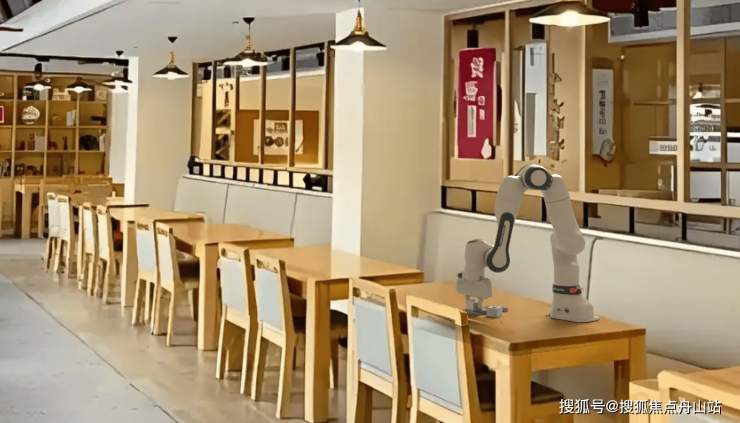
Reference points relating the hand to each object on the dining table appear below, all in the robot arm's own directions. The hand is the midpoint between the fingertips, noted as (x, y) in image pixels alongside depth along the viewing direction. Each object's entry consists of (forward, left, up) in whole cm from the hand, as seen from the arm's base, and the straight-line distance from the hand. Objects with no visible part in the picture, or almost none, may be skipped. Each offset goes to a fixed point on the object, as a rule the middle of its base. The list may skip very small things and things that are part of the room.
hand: (473, 306), depth 388 cm
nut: (-9, -4, -4) cm, 11 cm away
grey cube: (0, 0, -2) cm, 2 cm away
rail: (0, -6, -4) cm, 7 cm away
